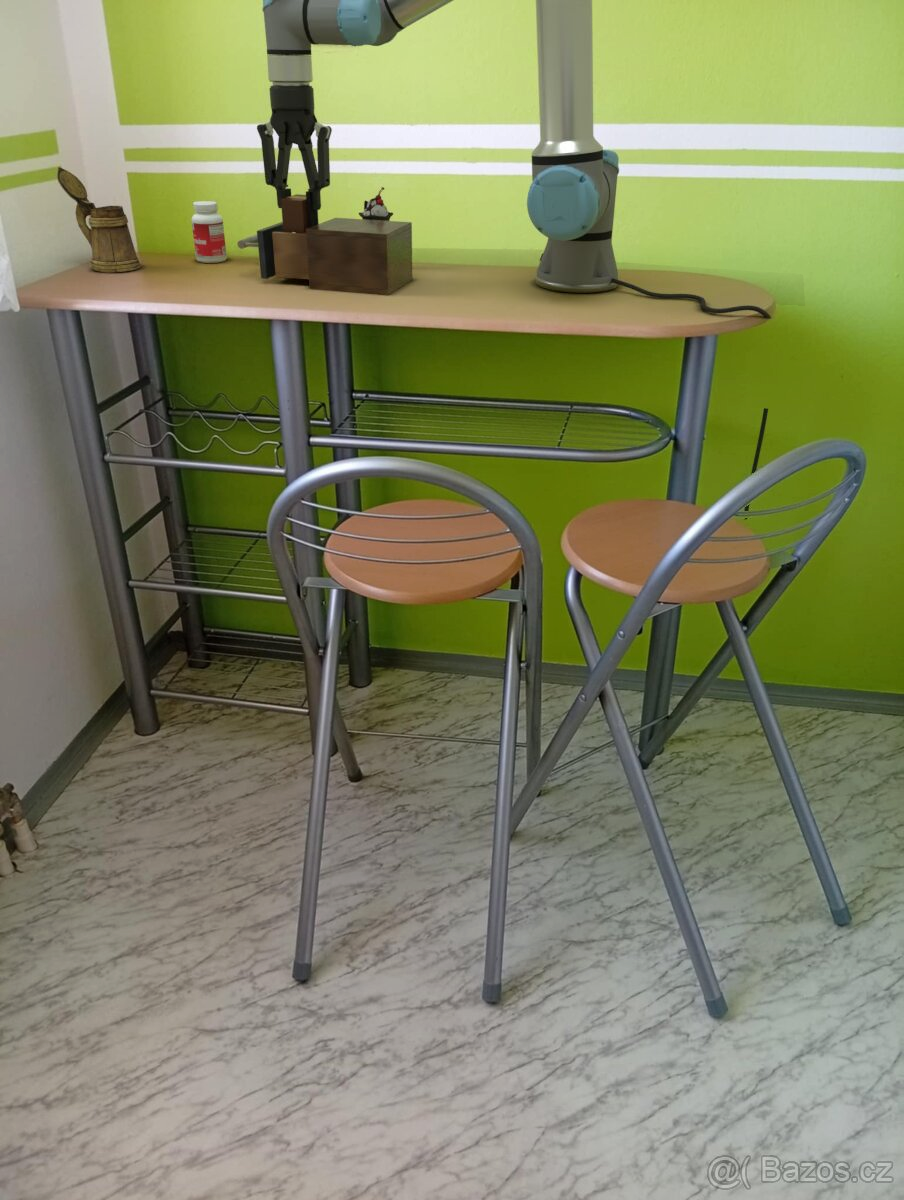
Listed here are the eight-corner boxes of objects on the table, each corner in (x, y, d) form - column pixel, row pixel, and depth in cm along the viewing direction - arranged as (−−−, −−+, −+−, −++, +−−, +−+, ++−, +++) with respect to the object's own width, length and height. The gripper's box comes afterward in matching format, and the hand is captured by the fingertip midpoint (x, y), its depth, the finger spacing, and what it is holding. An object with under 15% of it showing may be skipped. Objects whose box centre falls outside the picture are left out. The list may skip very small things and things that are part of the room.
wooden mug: (88, 261, 192) (71, 164, 183) (149, 265, 189) (134, 166, 180) (63, 270, 185) (43, 169, 175) (125, 274, 182) (108, 172, 173)
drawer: (233, 276, 177) (228, 228, 172) (262, 264, 187) (258, 218, 182) (331, 284, 172) (328, 235, 167) (356, 271, 182) (354, 224, 177)
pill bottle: (191, 260, 194) (183, 202, 188) (218, 256, 197) (212, 199, 192) (205, 264, 190) (198, 205, 184) (232, 261, 193) (226, 203, 188)
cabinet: (309, 288, 173) (305, 228, 167) (338, 274, 184) (335, 217, 178) (388, 295, 169) (386, 234, 164) (412, 279, 180) (411, 222, 175)
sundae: (393, 271, 186) (391, 188, 179) (359, 270, 186) (355, 188, 179) (395, 264, 192) (393, 184, 184) (362, 264, 192) (359, 183, 185)
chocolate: (304, 233, 172) (302, 200, 169) (283, 231, 173) (280, 199, 170) (319, 227, 177) (317, 195, 174) (298, 225, 178) (296, 194, 175)
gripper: (346, 84, 164) (352, 227, 175) (255, 82, 168) (267, 222, 180) (328, 86, 157) (336, 234, 169) (235, 83, 162) (248, 228, 174)
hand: (300, 227), depth 174 cm, fingers closed on chocolate, 4 cm apart
